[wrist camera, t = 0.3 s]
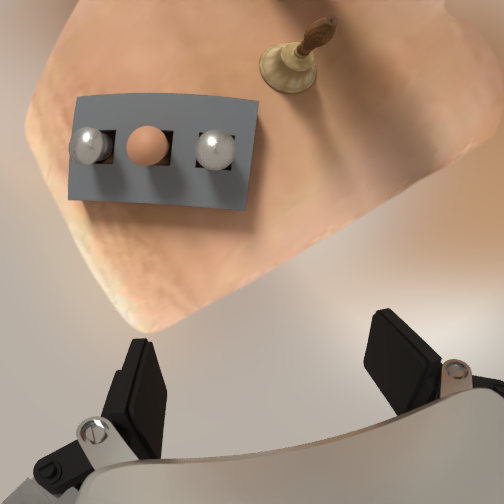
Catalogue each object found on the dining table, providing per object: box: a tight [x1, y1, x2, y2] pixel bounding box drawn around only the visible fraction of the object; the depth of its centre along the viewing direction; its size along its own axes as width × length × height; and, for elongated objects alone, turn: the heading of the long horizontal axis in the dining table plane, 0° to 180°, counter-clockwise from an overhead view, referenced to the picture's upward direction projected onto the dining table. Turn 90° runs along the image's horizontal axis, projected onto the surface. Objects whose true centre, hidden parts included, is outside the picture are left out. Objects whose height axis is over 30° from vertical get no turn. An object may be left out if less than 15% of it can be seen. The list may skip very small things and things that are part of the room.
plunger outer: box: [69, 127, 113, 165], centre depth 28 cm, size 4×4×5 cm
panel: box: [68, 93, 259, 211], centre depth 33 cm, size 14×24×4 cm, turn 83°
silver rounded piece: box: [195, 130, 237, 170], centre depth 30 cm, size 4×4×5 cm
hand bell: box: [259, 16, 337, 93], centre depth 26 cm, size 8×8×16 cm
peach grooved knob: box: [127, 126, 169, 166], centre depth 29 cm, size 4×4×5 cm
